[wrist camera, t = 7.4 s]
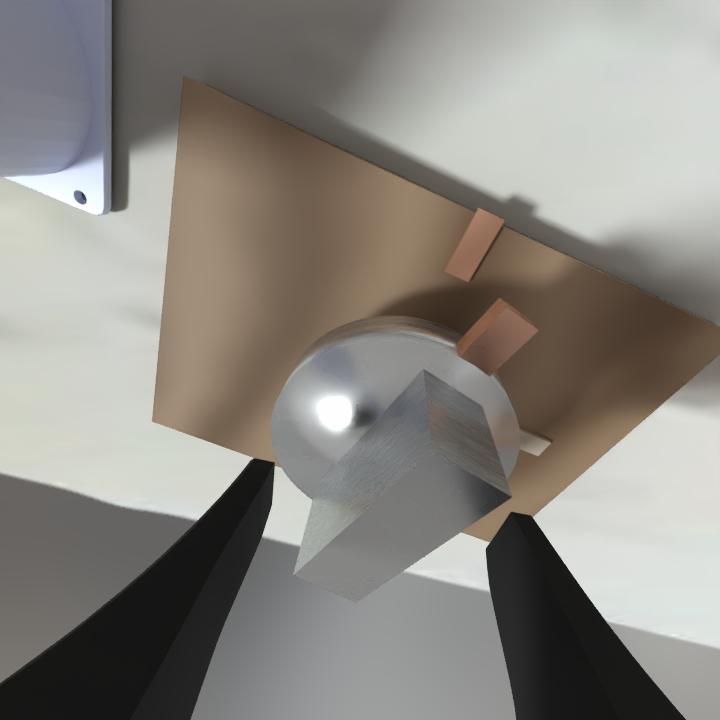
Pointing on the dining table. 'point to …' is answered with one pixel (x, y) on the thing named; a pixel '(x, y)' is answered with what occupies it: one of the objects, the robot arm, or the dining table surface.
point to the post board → (387, 297)
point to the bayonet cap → (396, 441)
